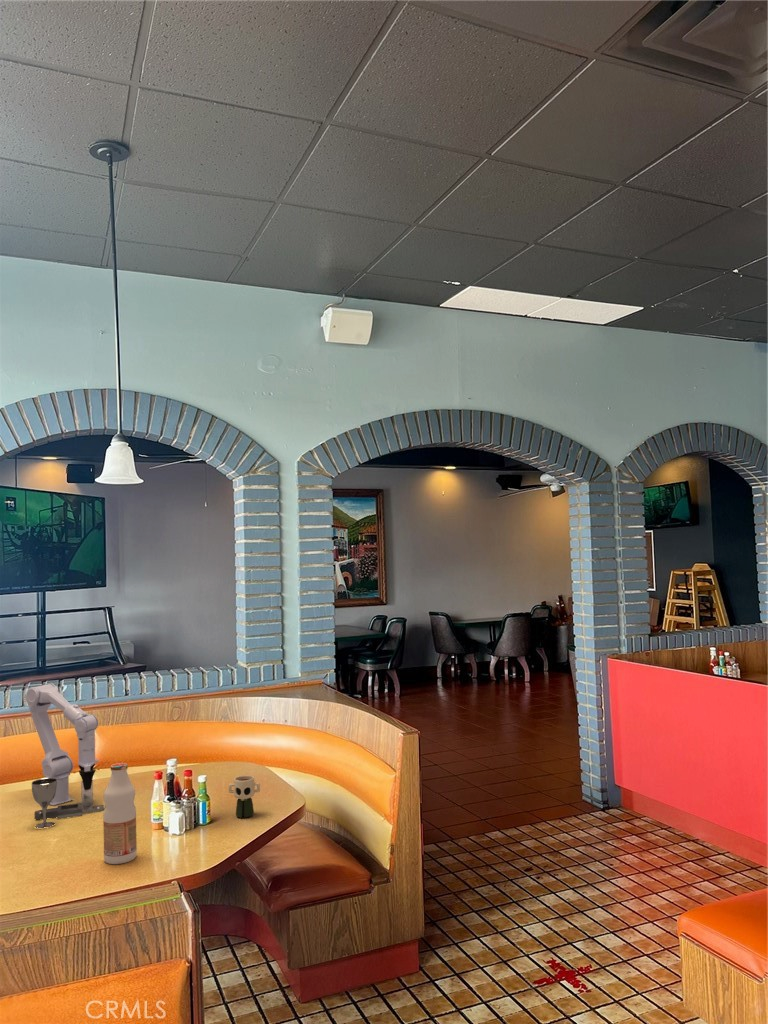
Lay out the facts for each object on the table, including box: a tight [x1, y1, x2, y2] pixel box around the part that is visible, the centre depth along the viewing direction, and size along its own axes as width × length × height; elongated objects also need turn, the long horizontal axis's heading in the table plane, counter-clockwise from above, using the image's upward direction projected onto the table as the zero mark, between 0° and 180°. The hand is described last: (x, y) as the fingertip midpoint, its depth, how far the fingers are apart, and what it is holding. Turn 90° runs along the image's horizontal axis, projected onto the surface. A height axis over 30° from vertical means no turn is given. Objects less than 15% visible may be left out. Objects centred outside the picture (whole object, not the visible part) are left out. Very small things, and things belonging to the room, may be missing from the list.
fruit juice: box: [102, 762, 138, 865], centre depth 235 cm, size 9×9×28 cm
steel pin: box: [80, 779, 94, 807], centre depth 285 cm, size 4×4×9 cm
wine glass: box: [31, 777, 57, 828], centre depth 266 cm, size 8×8×15 cm
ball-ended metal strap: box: [33, 802, 105, 821], centre depth 277 cm, size 23×8×2 cm, turn 112°
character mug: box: [228, 774, 261, 818], centre depth 269 cm, size 11×7×13 cm, turn 90°
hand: (87, 786), depth 286 cm, fingers open, 7 cm apart
